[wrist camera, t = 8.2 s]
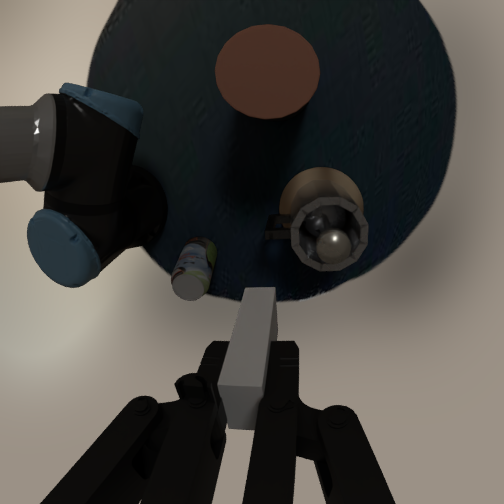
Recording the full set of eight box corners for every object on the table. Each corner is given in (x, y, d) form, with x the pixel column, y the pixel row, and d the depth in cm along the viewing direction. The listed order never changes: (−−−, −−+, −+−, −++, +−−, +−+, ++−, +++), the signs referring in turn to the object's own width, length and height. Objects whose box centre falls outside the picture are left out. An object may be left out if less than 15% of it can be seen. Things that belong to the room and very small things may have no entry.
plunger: (303, 236, 48) (306, 275, 36) (301, 195, 46) (304, 221, 34) (344, 235, 47) (360, 273, 35) (344, 194, 45) (362, 220, 33)
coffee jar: (323, 100, 43) (341, 86, 26) (266, 134, 46) (252, 139, 30) (285, 46, 40) (280, 7, 24) (229, 81, 43) (195, 60, 27)
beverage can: (201, 227, 54) (178, 254, 43) (230, 256, 55) (215, 290, 45) (179, 248, 56) (153, 279, 45) (207, 275, 58) (188, 311, 47)
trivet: (282, 249, 54) (281, 250, 53) (276, 168, 48) (276, 169, 48) (361, 246, 52) (362, 248, 51) (362, 166, 46) (363, 166, 46)
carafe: (273, 240, 53) (267, 272, 42) (268, 182, 49) (261, 200, 38) (351, 237, 51) (365, 269, 40) (351, 179, 47) (369, 196, 36)
